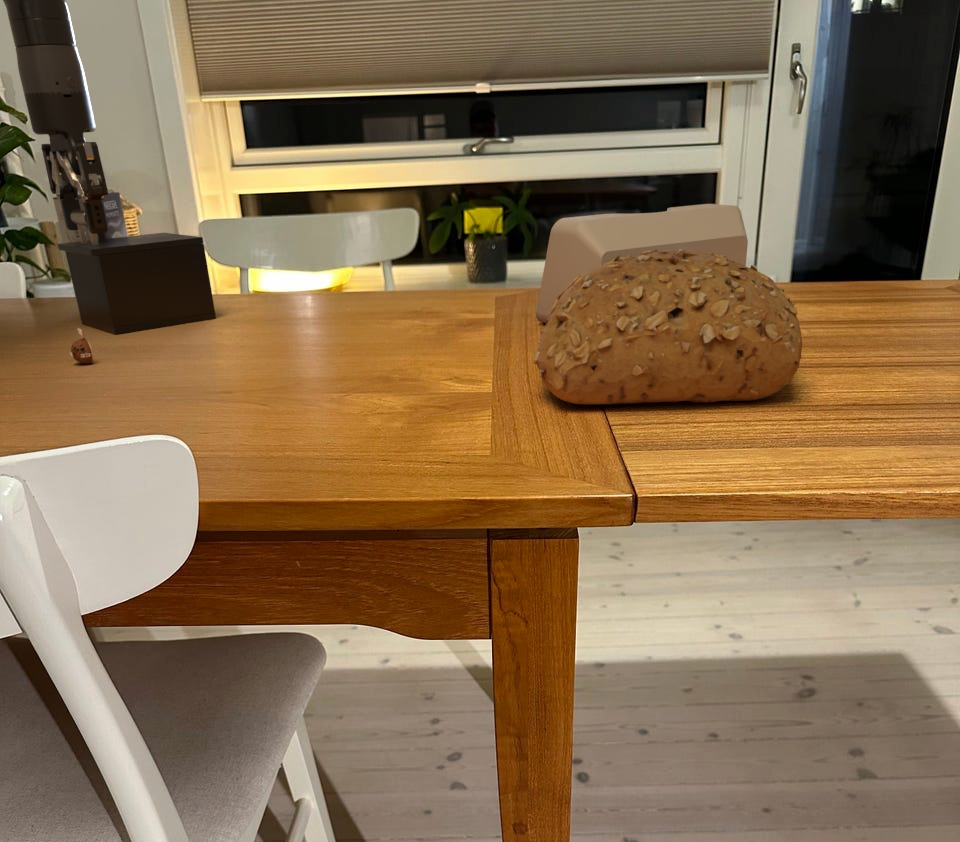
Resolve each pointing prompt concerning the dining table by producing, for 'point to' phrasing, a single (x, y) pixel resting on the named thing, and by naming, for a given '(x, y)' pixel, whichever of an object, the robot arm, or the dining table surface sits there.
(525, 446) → the dining table surface
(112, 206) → the coffee box
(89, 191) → the robot arm
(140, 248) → the lid
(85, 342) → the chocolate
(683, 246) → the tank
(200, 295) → the open black box
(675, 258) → the bread
